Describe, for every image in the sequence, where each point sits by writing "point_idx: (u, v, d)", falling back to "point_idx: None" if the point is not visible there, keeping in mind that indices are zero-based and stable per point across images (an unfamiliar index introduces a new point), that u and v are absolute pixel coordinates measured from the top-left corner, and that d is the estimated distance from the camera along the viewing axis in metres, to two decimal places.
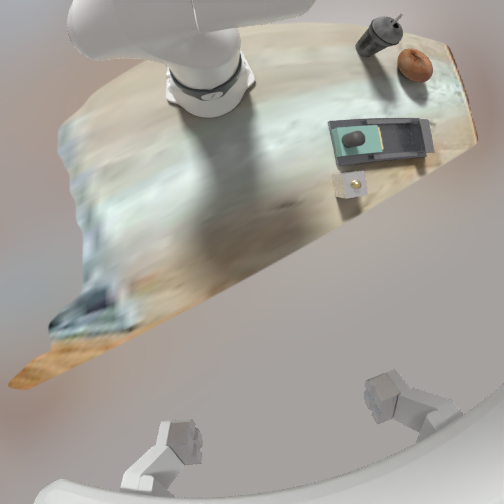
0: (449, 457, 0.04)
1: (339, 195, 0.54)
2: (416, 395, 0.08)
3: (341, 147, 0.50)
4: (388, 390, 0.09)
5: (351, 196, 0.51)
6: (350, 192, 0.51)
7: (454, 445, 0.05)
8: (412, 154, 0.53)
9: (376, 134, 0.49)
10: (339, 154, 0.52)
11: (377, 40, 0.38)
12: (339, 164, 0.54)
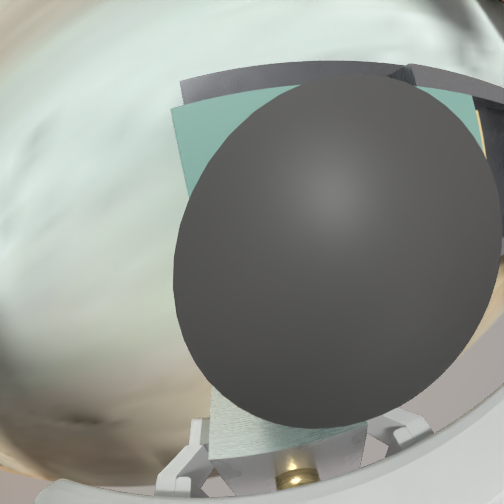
0: (449, 457, 0.04)
1: None
2: None
3: None
4: None
5: None
6: None
7: (454, 445, 0.05)
8: None
9: None
10: None
11: None
12: None
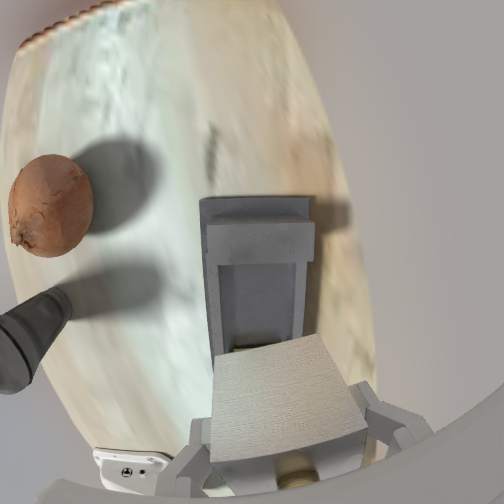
0: (449, 457, 0.04)
1: None
2: (385, 409, 0.08)
3: None
4: (356, 402, 0.09)
5: None
6: None
7: (454, 445, 0.05)
8: (303, 267, 0.25)
9: None
10: None
11: None
12: None
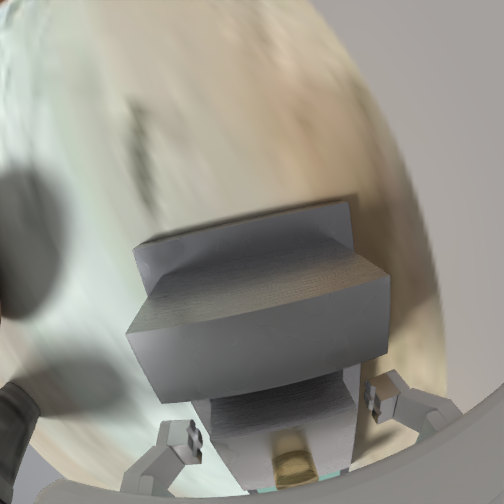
0: (449, 457, 0.04)
1: None
2: (416, 395, 0.08)
3: None
4: (388, 390, 0.09)
5: (268, 485, 0.09)
6: (263, 479, 0.08)
7: (454, 445, 0.05)
8: None
9: None
10: None
11: (12, 495, 0.06)
12: None
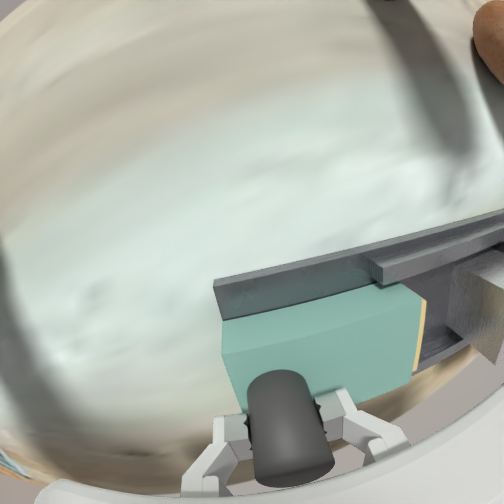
0: (449, 457, 0.04)
1: (480, 273, 0.12)
2: (362, 419, 0.08)
3: (246, 412, 0.12)
4: (333, 410, 0.09)
5: None
6: None
7: (454, 445, 0.05)
8: None
9: (408, 336, 0.12)
10: None
11: None
12: None
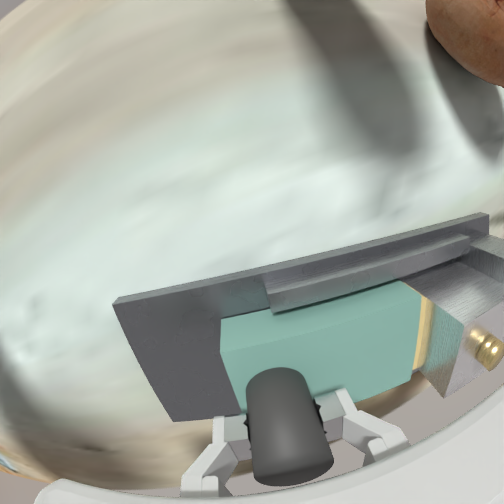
0: (449, 457, 0.04)
1: (428, 293, 0.12)
2: (362, 418, 0.08)
3: (245, 410, 0.12)
4: (333, 410, 0.09)
5: (463, 344, 0.09)
6: (474, 336, 0.09)
7: (454, 445, 0.05)
8: None
9: (407, 334, 0.12)
10: None
11: None
12: (175, 419, 0.16)
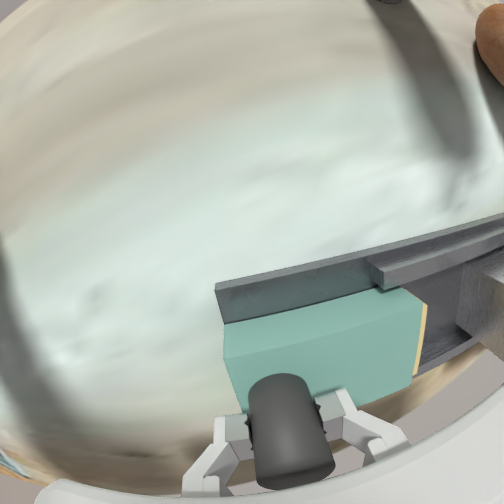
0: (449, 457, 0.04)
1: (489, 273, 0.12)
2: (362, 419, 0.08)
3: None
4: (333, 410, 0.09)
5: None
6: None
7: (454, 445, 0.05)
8: None
9: (408, 341, 0.12)
10: None
11: None
12: None
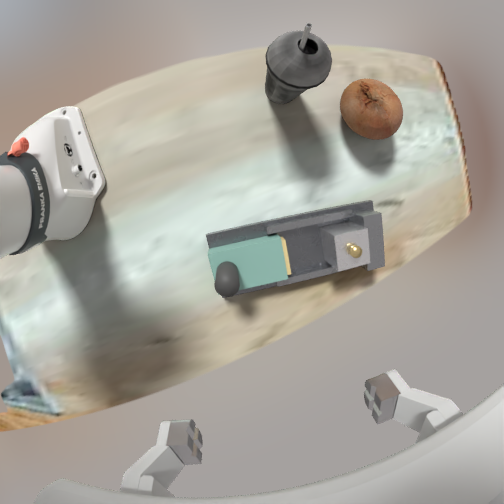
0: (449, 457, 0.04)
1: (327, 230, 0.37)
2: (416, 395, 0.08)
3: None
4: (388, 390, 0.09)
5: (337, 244, 0.34)
6: (342, 242, 0.34)
7: (454, 445, 0.05)
8: None
9: (278, 254, 0.37)
10: None
11: (279, 83, 0.25)
12: None
